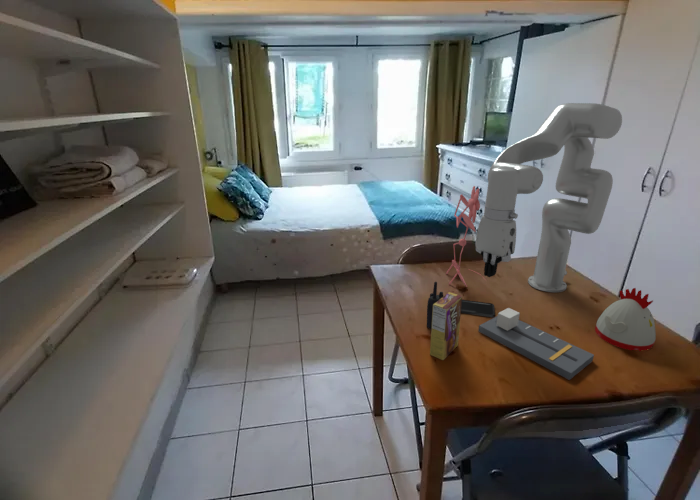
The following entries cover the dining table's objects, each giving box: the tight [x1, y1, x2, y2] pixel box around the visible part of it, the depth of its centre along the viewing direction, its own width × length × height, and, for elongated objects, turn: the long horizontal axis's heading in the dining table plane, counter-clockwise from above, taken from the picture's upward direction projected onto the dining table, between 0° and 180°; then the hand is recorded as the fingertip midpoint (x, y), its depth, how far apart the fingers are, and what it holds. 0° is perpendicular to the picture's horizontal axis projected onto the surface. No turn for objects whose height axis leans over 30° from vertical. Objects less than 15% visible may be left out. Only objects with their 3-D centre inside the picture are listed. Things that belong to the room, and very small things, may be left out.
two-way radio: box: [426, 281, 444, 330], centre depth 113 cm, size 6×4×15 cm
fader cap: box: [496, 307, 521, 331], centre depth 111 cm, size 5×4×4 cm
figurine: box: [445, 185, 488, 293], centre depth 138 cm, size 15×26×35 cm, turn 174°
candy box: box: [429, 291, 463, 361], centre depth 102 cm, size 9×4×15 cm, turn 140°
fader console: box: [477, 315, 595, 381], centre depth 106 cm, size 12×26×2 cm, turn 36°
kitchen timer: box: [594, 287, 657, 352], centre depth 108 cm, size 14×14×15 cm
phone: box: [461, 299, 496, 318], centre depth 125 cm, size 8×1×15 cm
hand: (489, 275), depth 112 cm, fingers closed
